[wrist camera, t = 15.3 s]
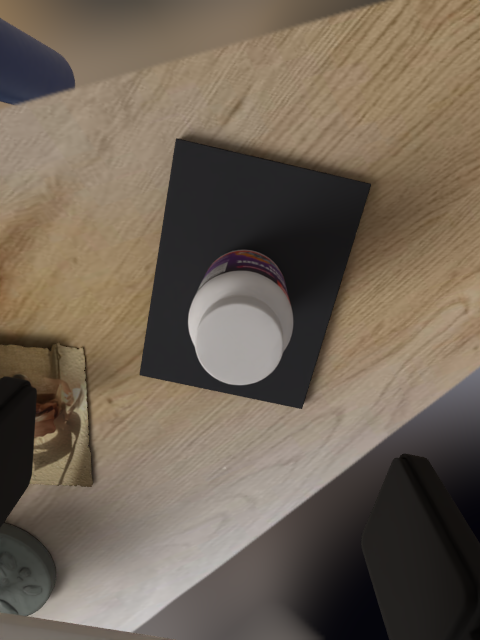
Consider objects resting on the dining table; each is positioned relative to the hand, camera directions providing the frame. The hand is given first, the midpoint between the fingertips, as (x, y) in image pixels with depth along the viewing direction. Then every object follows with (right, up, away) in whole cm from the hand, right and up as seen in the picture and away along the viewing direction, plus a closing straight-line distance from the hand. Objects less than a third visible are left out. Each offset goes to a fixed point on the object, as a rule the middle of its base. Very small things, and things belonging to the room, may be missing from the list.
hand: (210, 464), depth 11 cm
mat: (+1, +6, +18) cm, 19 cm away
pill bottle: (+1, +6, +17) cm, 18 cm away
